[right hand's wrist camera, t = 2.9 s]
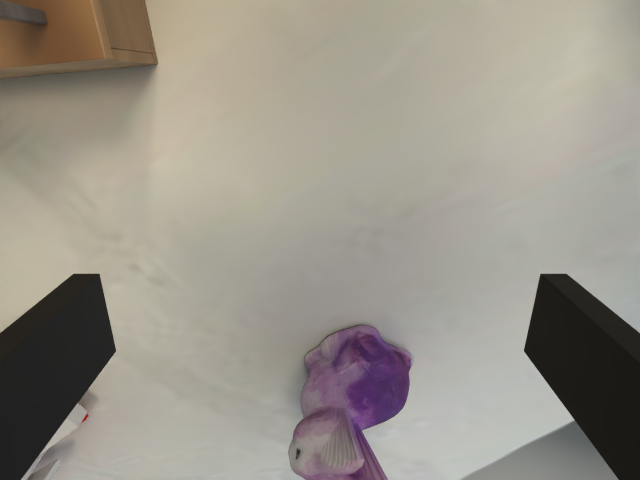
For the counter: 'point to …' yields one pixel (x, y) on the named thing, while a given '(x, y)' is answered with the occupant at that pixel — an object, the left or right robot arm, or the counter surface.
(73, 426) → the toy
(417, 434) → the counter surface
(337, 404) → the figurine
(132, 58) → the chest
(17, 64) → the door
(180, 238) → the counter surface
